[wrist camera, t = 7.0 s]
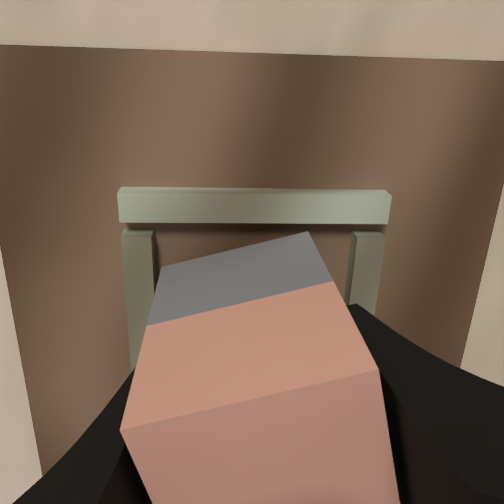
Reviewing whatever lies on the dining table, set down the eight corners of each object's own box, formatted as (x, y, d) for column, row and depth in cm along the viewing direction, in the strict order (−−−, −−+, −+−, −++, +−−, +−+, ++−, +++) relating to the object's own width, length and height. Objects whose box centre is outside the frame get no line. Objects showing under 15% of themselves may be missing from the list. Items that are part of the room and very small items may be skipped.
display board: (510, 61, 13) (547, 62, 12) (424, 450, 19) (442, 484, 17) (-19, 44, 12) (-51, 43, 11) (53, 461, 18) (38, 498, 16)
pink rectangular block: (308, 231, 13) (378, 369, 7) (332, 353, 14) (406, 545, 9) (161, 267, 13) (119, 430, 7) (202, 385, 14) (192, 593, 9)
